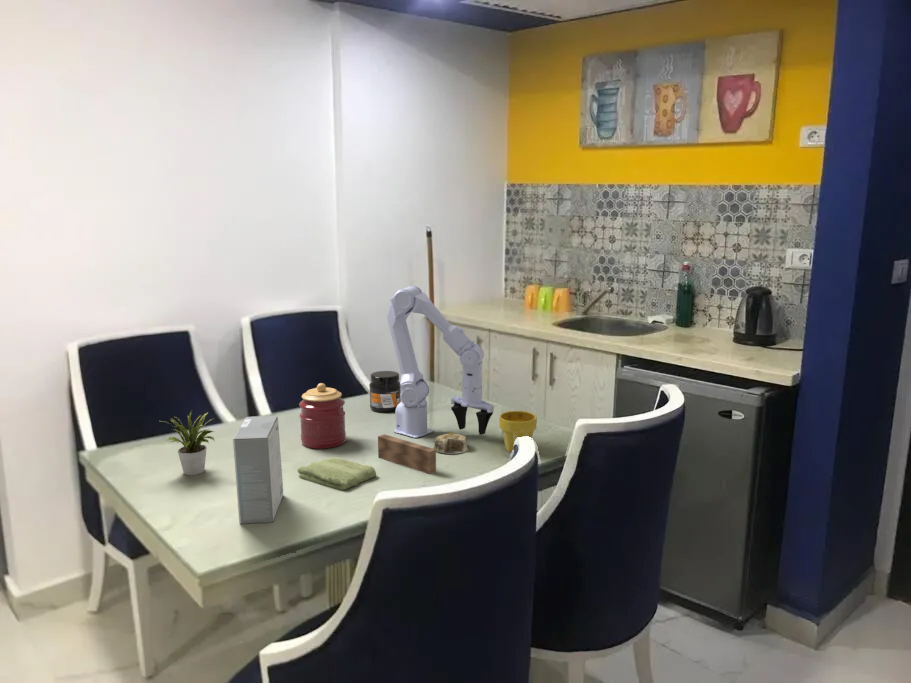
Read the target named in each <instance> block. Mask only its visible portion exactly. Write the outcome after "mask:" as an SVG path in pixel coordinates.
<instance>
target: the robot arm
mask: <svg viewBox="0 0 911 683" xmlns="http://www.w3.org/2000/svg"><path fill="white" fill-rule="evenodd" d="M389 301H390V304H389V309H388V313H387V316H386V320H387V323H388V324H387V325H388V327H389V331H390V336H391V340H392V344H393V348H394V351H395V356H396V359H397V363H398V367H399V370H400V374H401V376H400V377H401V378H400V381H399V382H400V386H401V393H400V398H401V402H400V403H399V404H398V405H397V407H396V411H394V412H395V413H394V414H395V416H394V417H395V429H394V430H393V433H396V434H400V435H404V436H407V437H411V438H414V439H418V438H420V437H423V436H426V435H428V434H431V433H434V429H430V428H428V401H427V397H428V396H429V393H430V386H429V384H428V382H427V381H426V380H425V379H424V374H422V372H420V370H419V366H418V363H417V358H416V355H415V351H414V347H413V343H412V338H411V334H410V331H409V327H408V324H407V319H408V317H409V316H410V314H411V313H414V314H421V315H424V316H425V317H426V318H427V319H428V320H429V321H430V323H432V324H433V325H434V327H436V328H437V329H438V330H439V331H440V332H441V333H442V340H443V341H444V342H445V343H446V344H447V346H448V347H449V348H450V349H451V350H452V351H453V352H454V353H455V354H456V355H457V356H459V362H460V364H461V365H462V372H461V376H462V378H461V379H462V380H461V382H462V387H461V389H462V391H461V393H462V394H461V395H462V396H456V395H455V396H452V397H450V401H451V403H450V404H451V405H453V406H451V407H450V408H451V411H452V412H453V414H454V417H455V419H456V422H457V426H458V430H464V429H465V428H466V423H467V422H466V421H467V411H468V408H471V409H476V410H480V411H476V412H475V415H476V419H477V423H478V434H479V435H480V436H482V435H485V434H486V431H487V426H488V424H489V422H490V419H491V418H492V415H493V414H494V412H495V410H494V409H495V405H494V404H491V403H489V402H487V401H485V400H483V396H482V395H483V369H482V366H483V365H482V361H483V359H484V357H485V353H484V352H485V351H484V350H483V348H482V347H481V346H482V345H480V344H478V343H476V342H475V341H474V340H471V339H470V338H469V337H468V336H467V335H466V333H464V332H465V330H464V328H463V327H459V326H458V325H452V324H451V323H450V322H449V321H448V319H447V318H446V317H445V316H444V315H443V314H442V313H441V311H440V310H439V309H438V307H437V306H435V304H434V303H433V302H432V300H431V299H430V298H429V296H428V295H427V294H426V293H425V292H423V291H422V289H421V288H420V287H418V286H417V285H413V284H412V285H409V286H406V287H405V288H400V289H398V290H397V291H395V293H394V294H393V295H392V297H391V298H390V299H389Z"/></svg>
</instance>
